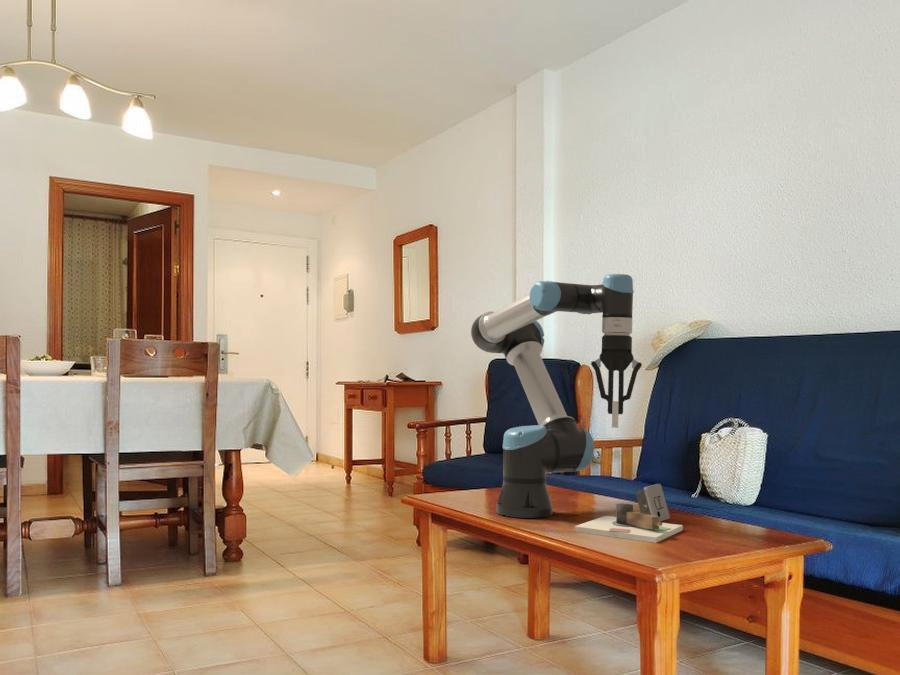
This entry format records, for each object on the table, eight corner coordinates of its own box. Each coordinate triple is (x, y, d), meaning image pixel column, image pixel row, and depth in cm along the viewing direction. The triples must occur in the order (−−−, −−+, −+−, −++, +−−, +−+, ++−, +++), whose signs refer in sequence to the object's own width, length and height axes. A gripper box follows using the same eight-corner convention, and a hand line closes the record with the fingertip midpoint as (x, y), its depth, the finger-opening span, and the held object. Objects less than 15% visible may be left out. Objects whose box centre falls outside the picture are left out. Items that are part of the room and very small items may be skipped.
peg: (612, 522, 180) (612, 504, 181) (625, 520, 183) (624, 503, 183) (654, 532, 169) (654, 513, 169) (667, 530, 171) (666, 511, 171)
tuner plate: (573, 531, 176) (573, 525, 176) (606, 520, 191) (606, 514, 191) (655, 543, 165) (655, 536, 165) (682, 530, 179) (682, 524, 179)
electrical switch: (656, 524, 187) (652, 487, 188) (636, 523, 190) (633, 487, 191) (670, 519, 194) (667, 483, 195) (651, 518, 197) (648, 483, 198)
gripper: (590, 333, 187) (588, 427, 186) (643, 334, 184) (641, 429, 183) (591, 334, 194) (590, 424, 194) (643, 335, 191) (641, 427, 190)
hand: (615, 427), depth 188 cm, fingers closed
